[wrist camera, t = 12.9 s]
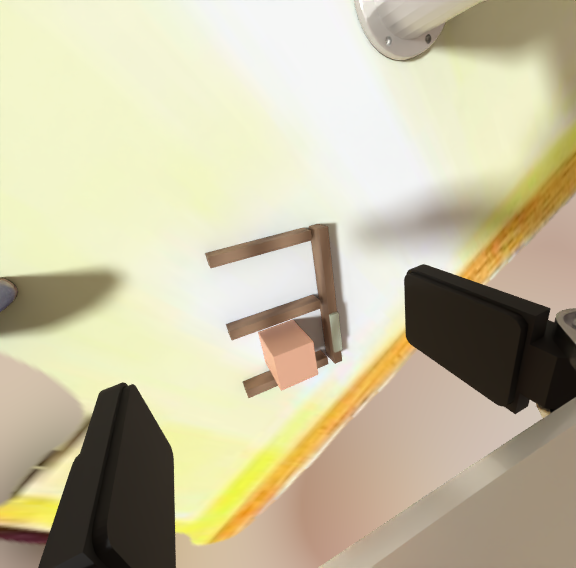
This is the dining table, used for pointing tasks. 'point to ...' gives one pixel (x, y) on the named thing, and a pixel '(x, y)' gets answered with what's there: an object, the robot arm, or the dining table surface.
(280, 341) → the block
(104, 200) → the dining table surface
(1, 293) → the dark blue pouch
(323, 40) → the dining table surface
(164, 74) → the dining table surface
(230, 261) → the comb rack
